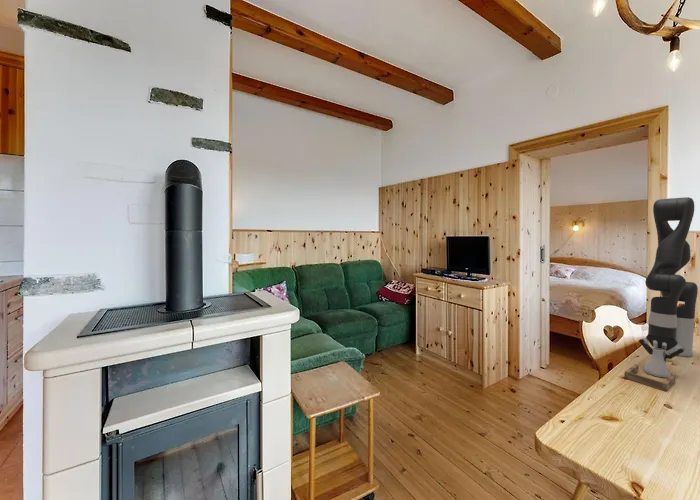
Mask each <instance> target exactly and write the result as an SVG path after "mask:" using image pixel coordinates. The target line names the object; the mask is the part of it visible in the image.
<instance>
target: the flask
mask: <svg viewBox="0 0 700 500" xmlns="http://www.w3.org/2000/svg"><path fill="white" fill-rule="evenodd" d="M651 348H652V349H653V354H651V357H650V358H649V360H648V361H647V363H646V364H645V365H644V367H643V368H642V370H643V372H645V373H647V374H649V375H651V376H654V377H657V378H666V379H668V378H669V377H670V376H671V375H672V374H671V373H670V371H669V369H668V366H667V362H666V363H665V361H664V357H663V352H664V351H665V350H663V349H660V348H655V347H651Z"/></svg>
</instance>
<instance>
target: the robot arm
mask: <svg viewBox="0 0 700 500" xmlns="http://www.w3.org/2000/svg"><path fill="white" fill-rule="evenodd" d="M652 211H653V218H654V223H655V228H656V234H657V248H656V252H655V259H654V263H653V266H652V268H651V270H650V272H649V273H648V275H647V277H646V279H645V283H644V284H645V286H646V288H648V290H651V291H657V292H661V293H660V294H661V296H653V297H651V299H650V311H649V315H648V316H649V317H648V327H647V328H648V330H647V334H646V336H645V337H644V338H640V339H639V340H638V342H639V343H640V345H641V346H642V347H643V348H644V349H645V351H646V352H647V353H648V354H649V355H652V354H653V349H652V348H654V347H655V348H660V349H663V350H665V351H664V352H663V357H664V361H665V363H666V364H667V360H671V359H674V358H675V357H676V356H680V357H692V356H693V348H694V347H693V344H694V332H695V330H694V329H695V317H696V316H695V315H696V305H697V298H698V293H699V291H698V290H699V289H698V285H697V283H695V282H692V281H687V280H686V279H685V277H684V276H682V275H680V274H677V273H678V272H679V271H680V270H681V269H683V268H684V267H685V266H686V265H687V264H688V263H689V261H690V260H691V246H690V244H689V242H688V241H687V240H686V239H687V238H688V234H689V232H690V228H691V224H692V221H693V218H694V213H695V201H694V199H693V198H692V197H673V198H671V197H670V198H660V199H658V200H657V199H656V200H655V201H654V203H653V207H652ZM675 221H676V222H677V221H679V222H678V224H677V225H676V227H675V228H674V229H673V228H672V227H671V225H670V223H669V222H675ZM679 302H683V304H682V305H678V303H679ZM650 345H651V346H652V347H651V346H650Z"/></svg>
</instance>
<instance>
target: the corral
mask: <svg viewBox="0 0 700 500" xmlns="http://www.w3.org/2000/svg"><path fill="white" fill-rule="evenodd" d="M638 372H639V364H636V363H635V364H633V365H632V366H631V367H629V368H628V369H626V370H625V371H624V372H623V373H624V377H623V378H624V379H627V380H629V381H631V382H636V383H639V384H642V385H645V386H647V387H650V388H654V389H657V390H661V391H664V392H667V391H668V390H669V389H670V388H671V387H672V386H673V385H674V384H675V383H676V375H675V374H670V375H671V376H670V377H668V378H666V379H665V380H664V381H660V380H657V379H653V378H651V377H650V378H649V377H646V376H643V375H640V374H638Z"/></svg>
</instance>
